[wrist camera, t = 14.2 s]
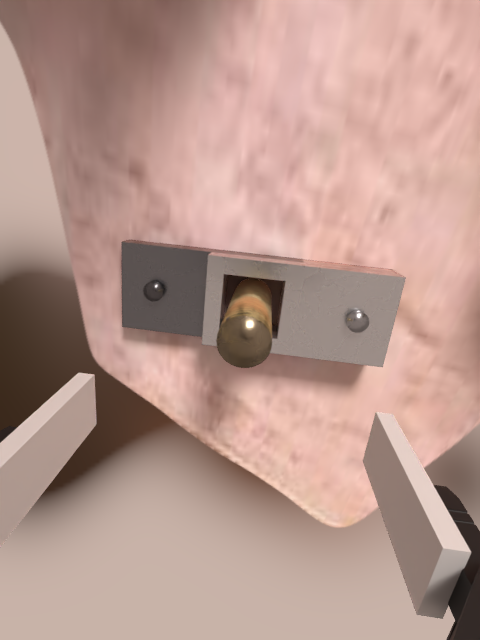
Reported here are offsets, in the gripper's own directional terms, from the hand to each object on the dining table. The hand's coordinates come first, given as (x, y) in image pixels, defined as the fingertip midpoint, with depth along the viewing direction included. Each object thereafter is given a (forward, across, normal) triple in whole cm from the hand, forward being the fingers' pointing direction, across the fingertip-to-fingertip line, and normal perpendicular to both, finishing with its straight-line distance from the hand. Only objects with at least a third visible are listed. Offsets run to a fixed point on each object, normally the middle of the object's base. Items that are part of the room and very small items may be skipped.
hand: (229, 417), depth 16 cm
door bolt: (+22, 0, 0) cm, 22 cm away
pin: (+22, 0, 0) cm, 22 cm away
